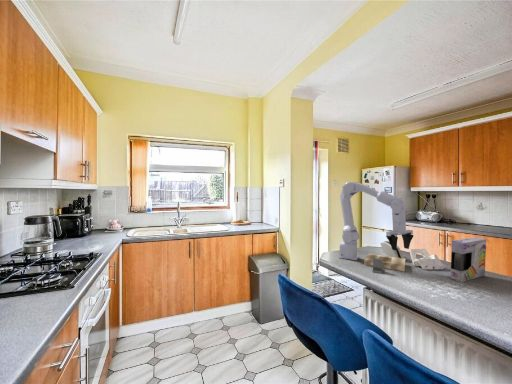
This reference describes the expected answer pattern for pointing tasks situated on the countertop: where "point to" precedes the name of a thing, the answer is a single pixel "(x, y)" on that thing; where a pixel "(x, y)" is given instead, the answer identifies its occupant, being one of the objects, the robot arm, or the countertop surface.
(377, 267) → the t bracket
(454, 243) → the cake pan box
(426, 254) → the mounting bracket
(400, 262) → the well block
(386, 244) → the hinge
